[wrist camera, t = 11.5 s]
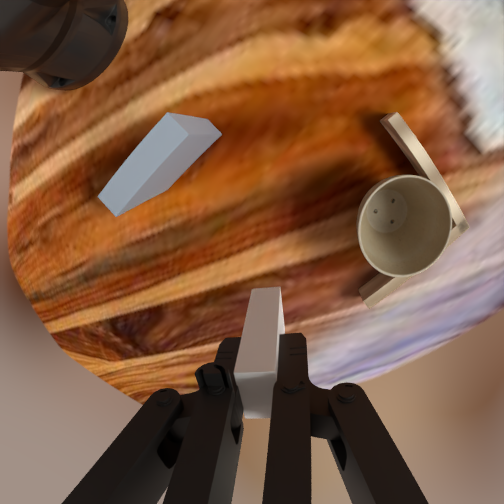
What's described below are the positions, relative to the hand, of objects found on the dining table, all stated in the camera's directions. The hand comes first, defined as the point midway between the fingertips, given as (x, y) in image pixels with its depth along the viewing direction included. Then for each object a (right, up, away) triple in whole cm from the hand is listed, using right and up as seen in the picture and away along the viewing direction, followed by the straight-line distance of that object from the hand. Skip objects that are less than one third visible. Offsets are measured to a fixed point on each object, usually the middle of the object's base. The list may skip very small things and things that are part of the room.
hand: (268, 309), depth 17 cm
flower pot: (+14, +8, +16) cm, 23 cm away
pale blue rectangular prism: (-8, +14, +16) cm, 23 cm away
